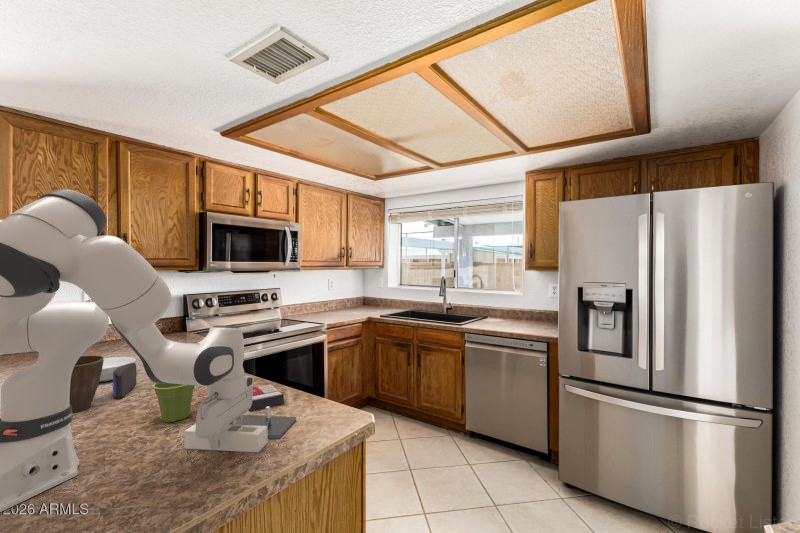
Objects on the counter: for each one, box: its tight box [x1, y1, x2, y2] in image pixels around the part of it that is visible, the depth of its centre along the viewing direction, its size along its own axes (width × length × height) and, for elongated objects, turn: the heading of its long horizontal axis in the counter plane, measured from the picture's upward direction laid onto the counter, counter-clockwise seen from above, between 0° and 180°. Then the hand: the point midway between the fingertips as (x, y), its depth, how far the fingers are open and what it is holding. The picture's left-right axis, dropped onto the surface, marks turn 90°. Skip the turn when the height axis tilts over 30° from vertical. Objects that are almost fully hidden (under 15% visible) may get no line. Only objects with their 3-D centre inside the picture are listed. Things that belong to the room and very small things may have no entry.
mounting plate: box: [230, 406, 297, 440], centre depth 107 cm, size 12×24×6 cm, turn 84°
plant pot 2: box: [151, 382, 195, 423], centre depth 114 cm, size 12×12×11 cm
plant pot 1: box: [70, 354, 105, 414], centre depth 121 cm, size 15×15×16 cm
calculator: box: [248, 384, 285, 413], centre depth 128 cm, size 11×4×15 cm
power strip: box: [183, 423, 269, 453], centre depth 96 cm, size 5×20×5 cm, turn 84°
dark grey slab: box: [111, 363, 137, 400], centre depth 137 cm, size 16×5×9 cm, turn 19°
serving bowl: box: [99, 356, 137, 383], centre depth 154 cm, size 21×21×7 cm
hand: (226, 439), depth 96 cm, fingers open, 8 cm apart
